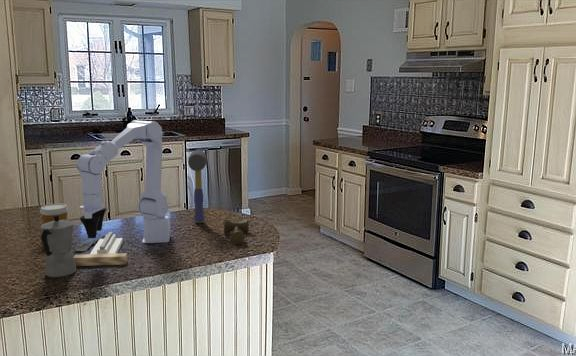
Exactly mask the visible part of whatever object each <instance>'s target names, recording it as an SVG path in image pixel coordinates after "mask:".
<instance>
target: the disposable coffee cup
mask: <svg viewBox="0 0 576 356" xmlns="http://www.w3.org/2000/svg"><path fill="white" fill-rule="evenodd" d="M68 211H69V208H68V205H67V204H65V203H51V204H44V205H42V206H41V207H40V210H39V213H40V215H41V218H42V222H43V223H42V224H45V223H48V222H51V221H55V220H54V217H53V216H54V215H59V220H68Z"/></svg>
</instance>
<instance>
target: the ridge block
mask: <svg viewBox="0 0 576 356" xmlns="http://www.w3.org/2000/svg"><path fill="white" fill-rule="evenodd" d="M113 233H114V231H109V232H108V233H107V234H106V235H105V237H103V238H102V239H99V238H98V239H99V240H97V241H96V242H97V243H95V244H94V247H92V248H93V249H91V252H90V253H89V254H115V253H118V252H119V251H120V250H121V247H122V245H123V242H124V238H123V237H116V233H114V234H113Z"/></svg>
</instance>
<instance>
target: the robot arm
mask: <svg viewBox="0 0 576 356" xmlns="http://www.w3.org/2000/svg"><path fill="white" fill-rule="evenodd" d="M162 136H163V127H162V126H161V125H160V123H158V122H157V121H155V120H153V121H149V120H148V121H147V120H137V119H133V120H132V121H130V123H127V125H126V127H125V128H124V129H123V131H121V132H120V133H118V135H117V136H116V137H114V138H113V139H112V140H111V141H109V140H102V141H101V142H100V143H99V145H98V146H97V147H95V148H94V149H91V150H90V151H89V153H88V154H86V153H85V154H82V155H81V156H79V158H78V159H77V163H75V167H76V169H77V171H78V173H79V177H80V178H81V190H82V205H80V206H79V207H78V208H79V210H83V214H84V215H80V217H79V220H80V222H81V223H82V224H83V227H84V230H85V231H86V234H87V235H86V236H87V238H90V239H97V236H96V235H98V234H97V233H98V232H101V231H102V229H103V222H104V217H105V214H106V212H107V207H104V204H103V203H104V201H103V189H102V185H103V184H102V175H101V174H102V173H103V171H104V170H105V167H106V165H107V164H108V163H109V162H110V161H112V160H113V159H114V158H115V157H117V156H118V154H119V150H120V149H121V148H123V147H124V146H126V145H127V144H129V143H130V142H132V141H134V140H137V141H138V142H141V143H142V144H143V146H144V147H146V148H145V149H146V151H145V153H146V155H145V158H146V159H145V183H144V185H145V187H144V189H145V190H144V191H143V192H141V194H140V195H139V200H138V203H137V204H138V205H137V209H138V212H139V213H140V214H141V217H143V219H142V220H143V221H142V222H143V239H142V240H141V243H142V244H155V243H157V244H158V243H159V244H160V243H169V242H170V239H171V235H172V234H171V233H172V232H171V221H170V220H171V219H170V216H169V215H167V213H168V210H169V204H168V200H167V197H168V196H166V194H165V193H164V192H163V191H162V168H163V167H162V165H163V164H162V163H163V162H162V161H163V138H162Z"/></svg>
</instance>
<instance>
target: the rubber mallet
mask: <svg viewBox="0 0 576 356" xmlns="http://www.w3.org/2000/svg"><path fill="white" fill-rule="evenodd" d="M187 163H188V164H187V165H188V166H189V168H190V170H192V171H194V181H195V183H194V187H195V188H194V192H193V193H194V194H193V203H194V222H195V223H197V224H202V223H204V220H205V217H204V193H203V192H204V191H203V188H202V186H203V183H202V170H204V169H205V167H206V165H207V164H208V155H206V153H205V152H204V151H203V150H201V149H196V150H194V151H192V152H191V153H190V154H189V156H188V159H187Z"/></svg>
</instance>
